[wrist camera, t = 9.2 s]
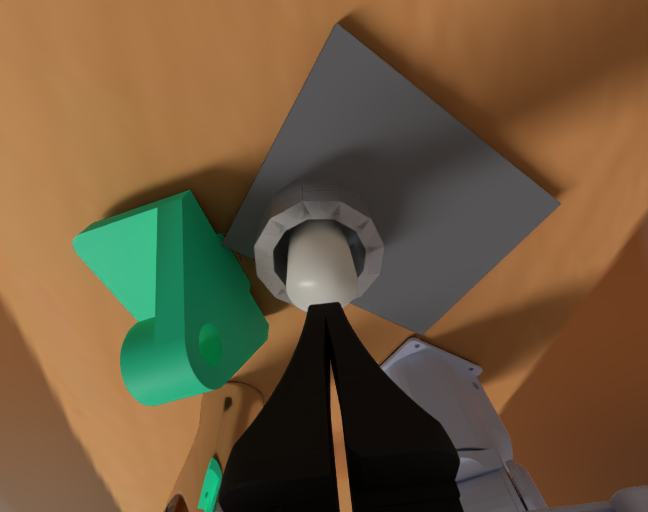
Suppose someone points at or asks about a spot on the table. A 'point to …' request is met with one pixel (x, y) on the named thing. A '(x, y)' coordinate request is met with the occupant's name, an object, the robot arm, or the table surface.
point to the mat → (398, 182)
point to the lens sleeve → (316, 203)
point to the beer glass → (213, 446)
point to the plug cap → (320, 264)
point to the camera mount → (174, 298)
